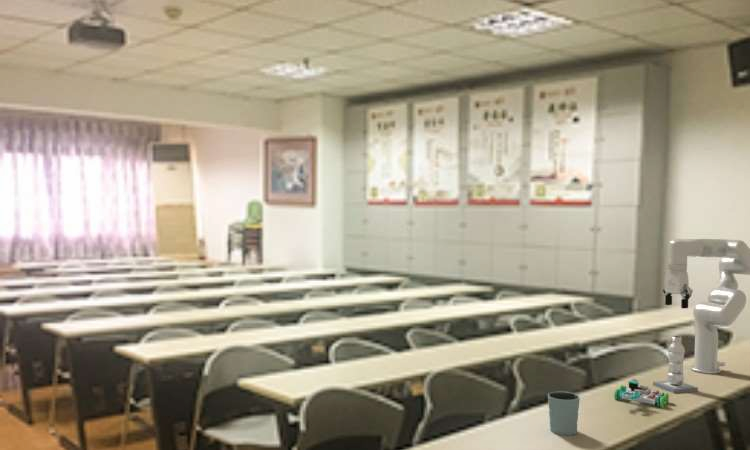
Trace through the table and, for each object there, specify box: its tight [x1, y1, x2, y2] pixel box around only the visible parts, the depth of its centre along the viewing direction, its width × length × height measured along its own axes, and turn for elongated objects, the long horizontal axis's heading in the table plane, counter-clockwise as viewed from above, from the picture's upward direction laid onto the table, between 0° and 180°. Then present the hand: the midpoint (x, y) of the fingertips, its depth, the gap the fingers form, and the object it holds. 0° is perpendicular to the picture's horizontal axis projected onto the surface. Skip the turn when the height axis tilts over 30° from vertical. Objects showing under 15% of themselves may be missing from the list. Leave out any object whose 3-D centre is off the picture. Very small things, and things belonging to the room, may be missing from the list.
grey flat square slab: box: [652, 380, 699, 394], centre depth 272 cm, size 12×12×2 cm
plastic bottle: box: [666, 335, 686, 385], centre depth 272 cm, size 6×7×20 cm
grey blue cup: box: [547, 390, 581, 436], centre depth 217 cm, size 10×10×12 cm
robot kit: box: [613, 378, 670, 409], centre depth 250 cm, size 19×25×9 cm
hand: (676, 306), depth 291 cm, fingers open, 9 cm apart
